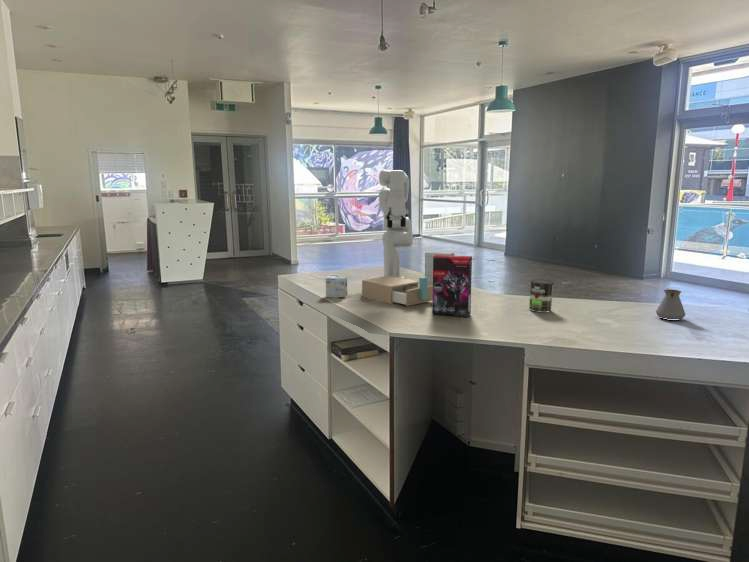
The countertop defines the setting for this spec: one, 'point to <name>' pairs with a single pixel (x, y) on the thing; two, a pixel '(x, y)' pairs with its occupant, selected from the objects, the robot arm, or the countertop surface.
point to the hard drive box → (431, 265)
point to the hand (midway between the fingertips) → (396, 227)
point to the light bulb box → (336, 286)
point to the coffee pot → (671, 306)
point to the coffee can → (541, 295)
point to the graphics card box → (452, 285)
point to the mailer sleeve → (384, 287)
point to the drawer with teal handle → (413, 293)
